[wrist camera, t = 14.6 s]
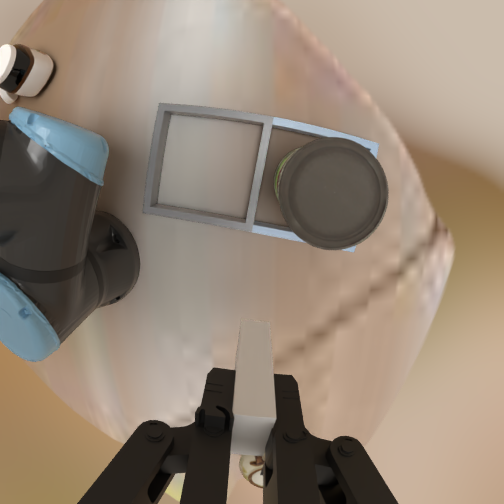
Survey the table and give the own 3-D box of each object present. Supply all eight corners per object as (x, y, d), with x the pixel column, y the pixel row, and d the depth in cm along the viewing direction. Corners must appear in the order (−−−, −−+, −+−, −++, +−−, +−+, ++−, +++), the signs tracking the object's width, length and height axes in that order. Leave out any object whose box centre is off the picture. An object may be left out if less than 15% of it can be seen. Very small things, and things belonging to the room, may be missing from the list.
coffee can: (266, 213, 39) (268, 238, 26) (281, 138, 36) (291, 124, 23) (338, 227, 40) (373, 259, 26) (354, 156, 36) (398, 154, 23)
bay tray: (150, 209, 40) (142, 212, 37) (165, 106, 35) (159, 103, 33) (348, 246, 40) (354, 252, 38) (371, 144, 36) (378, 143, 33)
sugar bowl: (224, 425, 52) (216, 483, 38) (293, 410, 50) (298, 471, 36) (260, 466, 57) (258, 514, 43) (317, 454, 55) (324, 504, 41)
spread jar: (64, 68, 33) (21, 53, 22) (30, 121, 36) (-15, 118, 25) (38, 44, 31) (-1, 30, 20) (8, 92, 34) (-33, 87, 22)
